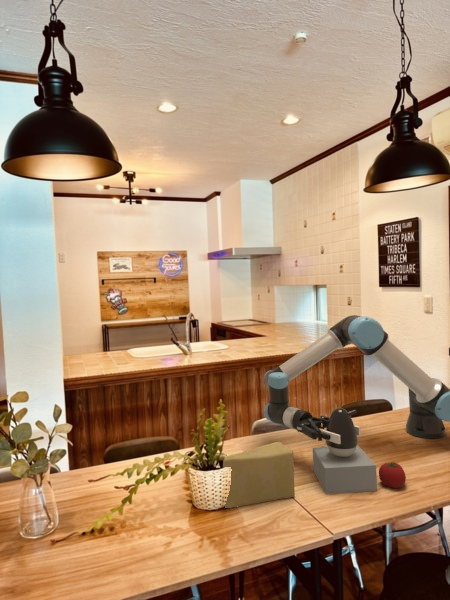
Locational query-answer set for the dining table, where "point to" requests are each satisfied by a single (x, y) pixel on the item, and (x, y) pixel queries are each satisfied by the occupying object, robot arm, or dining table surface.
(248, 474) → the cheese
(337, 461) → the slate block
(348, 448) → the pump dispenser
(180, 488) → the dining table surface
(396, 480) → the tomato
